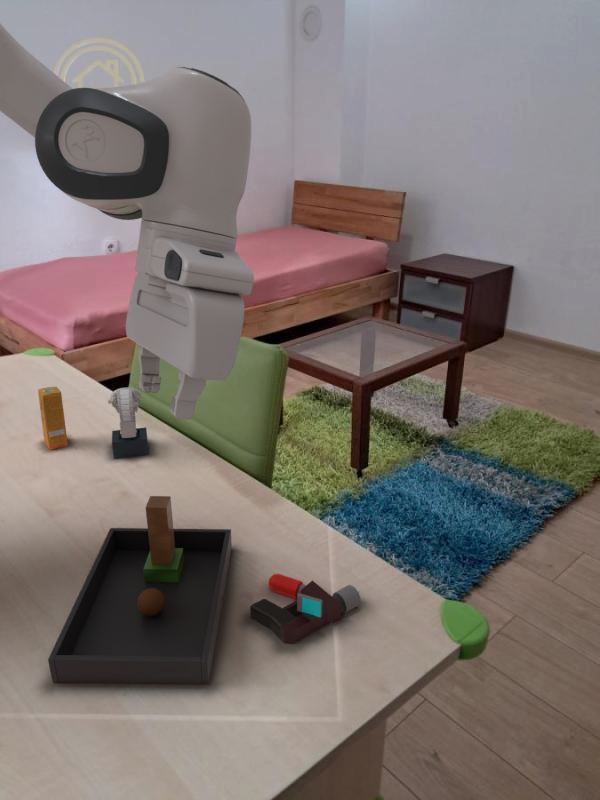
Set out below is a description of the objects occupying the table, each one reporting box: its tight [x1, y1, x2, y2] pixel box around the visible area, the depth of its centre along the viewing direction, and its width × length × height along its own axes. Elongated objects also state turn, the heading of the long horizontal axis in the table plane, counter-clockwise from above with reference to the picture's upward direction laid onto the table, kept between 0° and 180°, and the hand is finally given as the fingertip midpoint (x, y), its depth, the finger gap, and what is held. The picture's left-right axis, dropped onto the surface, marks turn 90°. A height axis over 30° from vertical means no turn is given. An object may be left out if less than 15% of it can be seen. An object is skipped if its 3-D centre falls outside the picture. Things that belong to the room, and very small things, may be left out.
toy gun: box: [249, 573, 361, 645], centre depth 71 cm, size 10×12×5 cm
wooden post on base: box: [143, 495, 184, 583], centre depth 75 cm, size 4×4×10 cm
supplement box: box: [37, 386, 69, 451], centre depth 105 cm, size 3×3×10 cm
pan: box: [47, 527, 233, 686], centre depth 71 cm, size 15×21×4 cm
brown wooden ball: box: [137, 588, 165, 617], centre depth 70 cm, size 3×3×3 cm
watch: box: [107, 387, 150, 460], centre depth 103 cm, size 6×8×11 cm
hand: (163, 403), depth 62 cm, fingers open, 8 cm apart
